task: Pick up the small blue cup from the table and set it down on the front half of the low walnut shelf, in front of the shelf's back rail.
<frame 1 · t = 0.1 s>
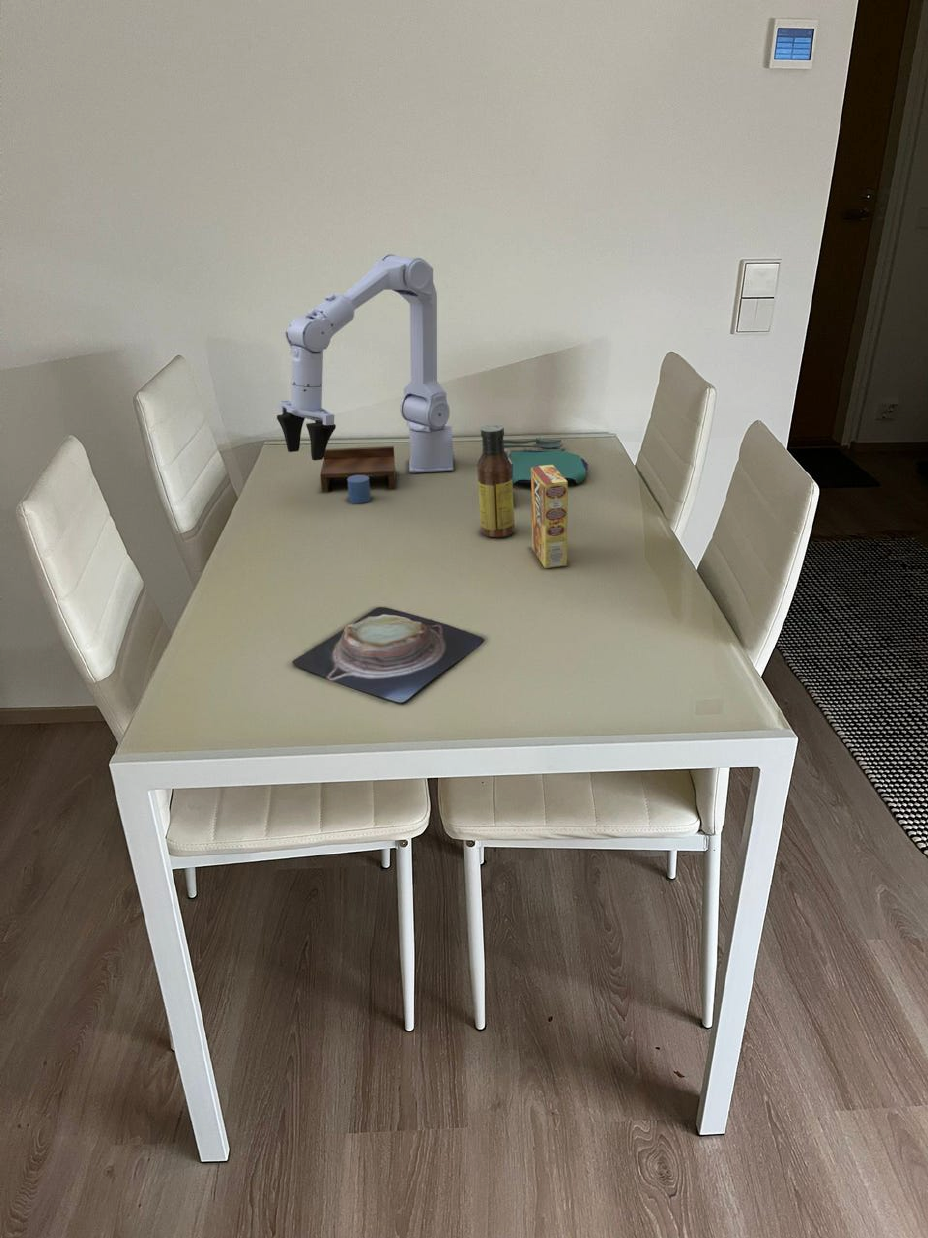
hand: (305, 455, 186), 10 cm above the table, tool pointing down, fingers open, 7 cm apart
flask: (505, 500, 191), on the table
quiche: (390, 653, 140), on the table
blue cup: (360, 499, 194), on the table
candy box: (548, 558, 167), on the table
shelf: (359, 482, 203), on the table
sauce bottle: (496, 533, 177), on the table
cutlery set: (538, 467, 208), on the table
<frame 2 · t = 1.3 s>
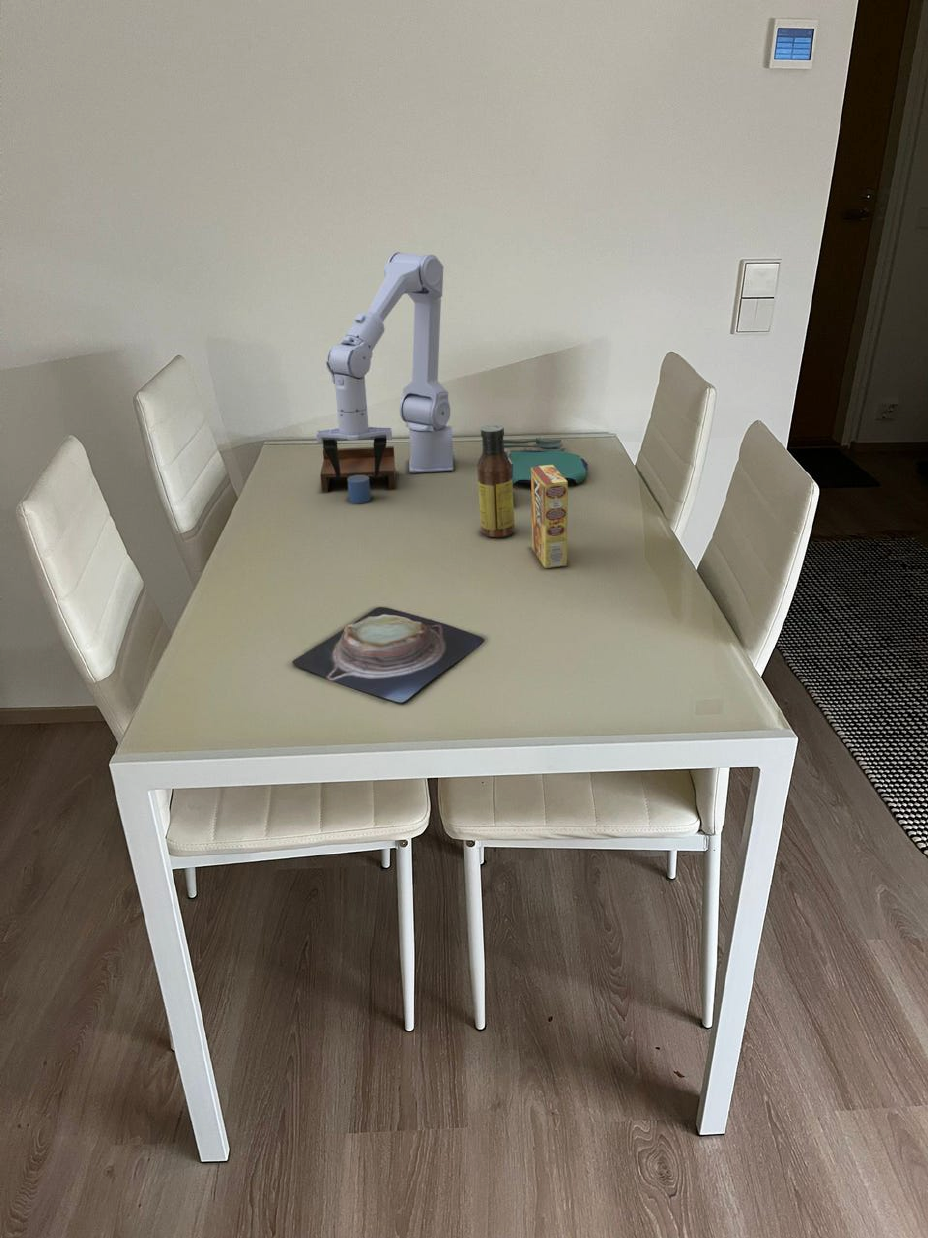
hand: (357, 475, 191), 5 cm above the table, tool pointing down, fingers open, 7 cm apart
nothing on the table moved.
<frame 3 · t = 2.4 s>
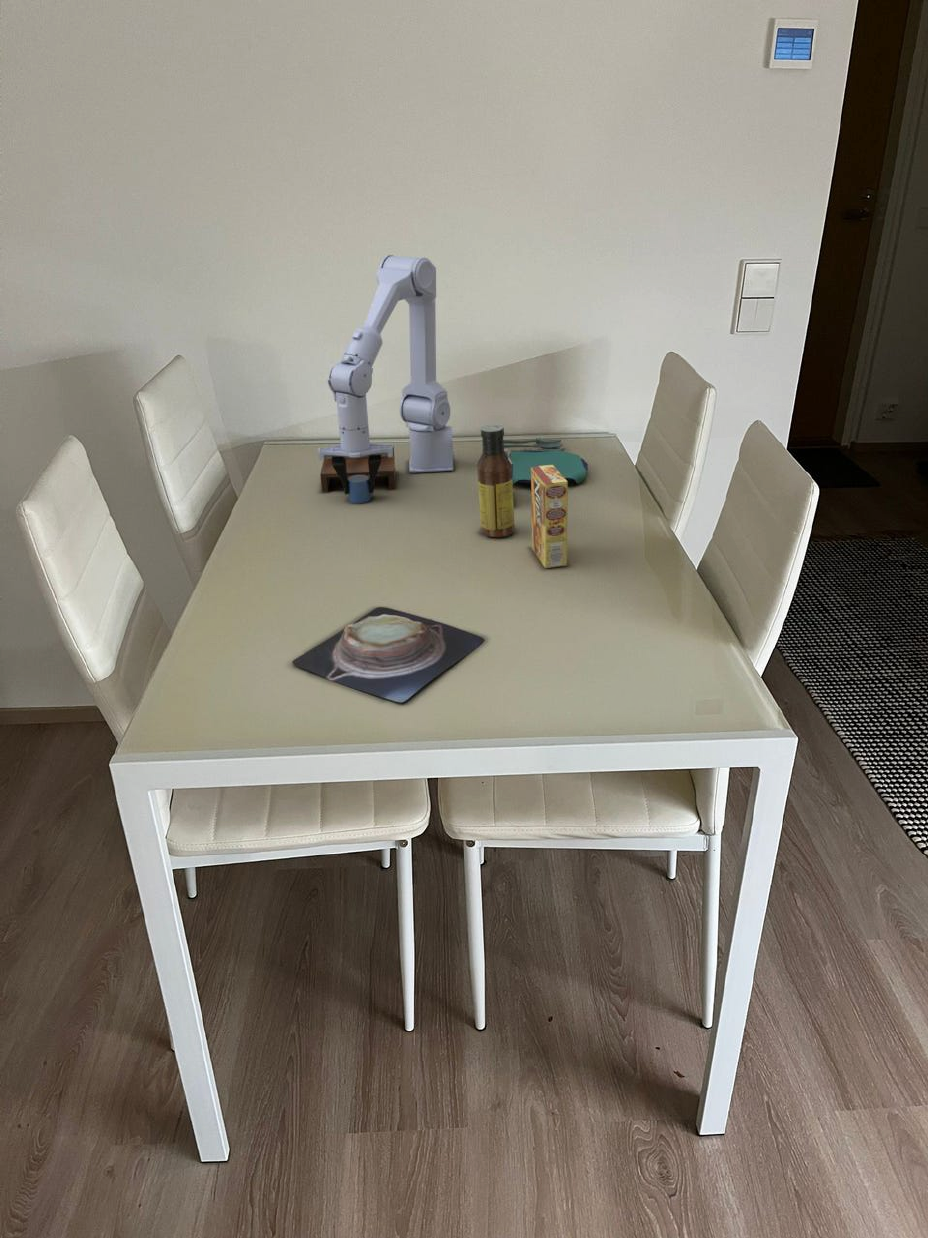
hand: (359, 491, 193), 2 cm above the table, tool pointing down, fingers closed on blue cup, 4 cm apart
blue cup: (360, 499, 194), on the table, touching gripper
everything else where it was.
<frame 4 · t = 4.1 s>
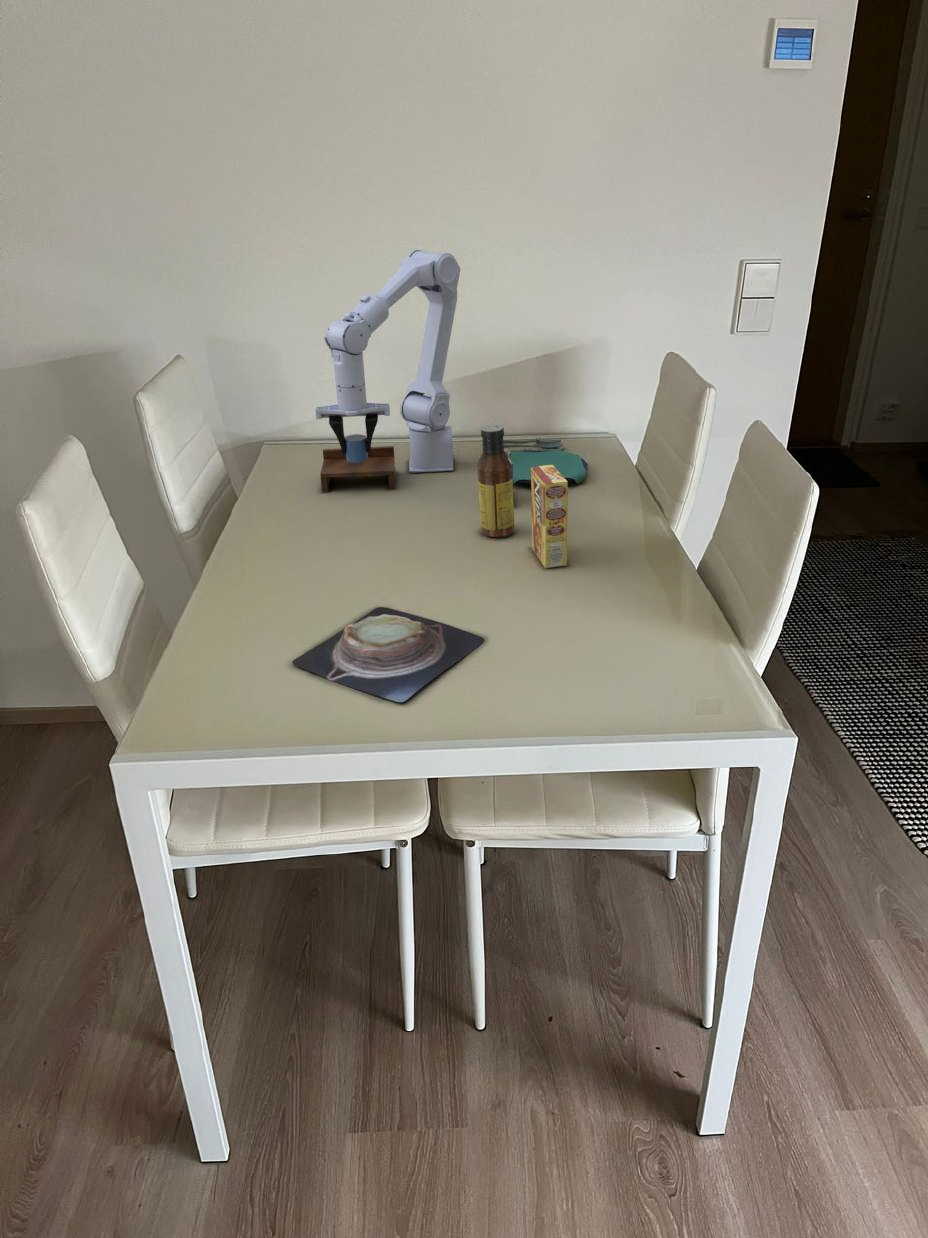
hand: (356, 451, 194), 9 cm above the table, tool pointing down, fingers closed on blue cup, 4 cm apart
blue cup: (357, 459, 195), point 7 cm above the table, touching gripper
everything else where it was.
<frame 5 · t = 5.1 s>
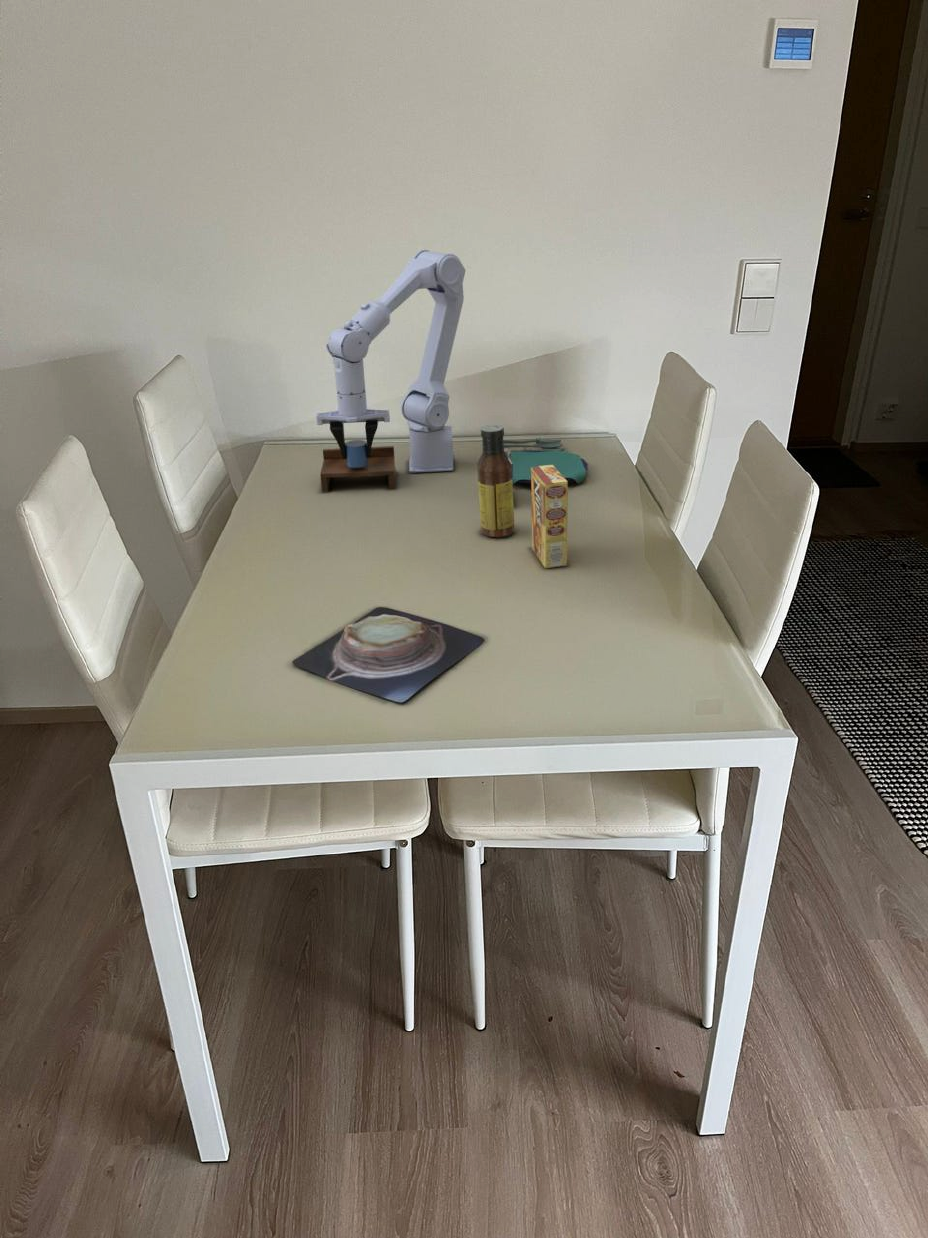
hand: (356, 456, 198), 6 cm above the table, tool pointing down, fingers closed on blue cup, 4 cm apart
blue cup: (357, 464, 198), point 5 cm above the table, touching gripper
everything else where it was.
when the fingers open (6 cm above the table, at t = 5.8 s): blue cup stays where it is, resting on shelf.
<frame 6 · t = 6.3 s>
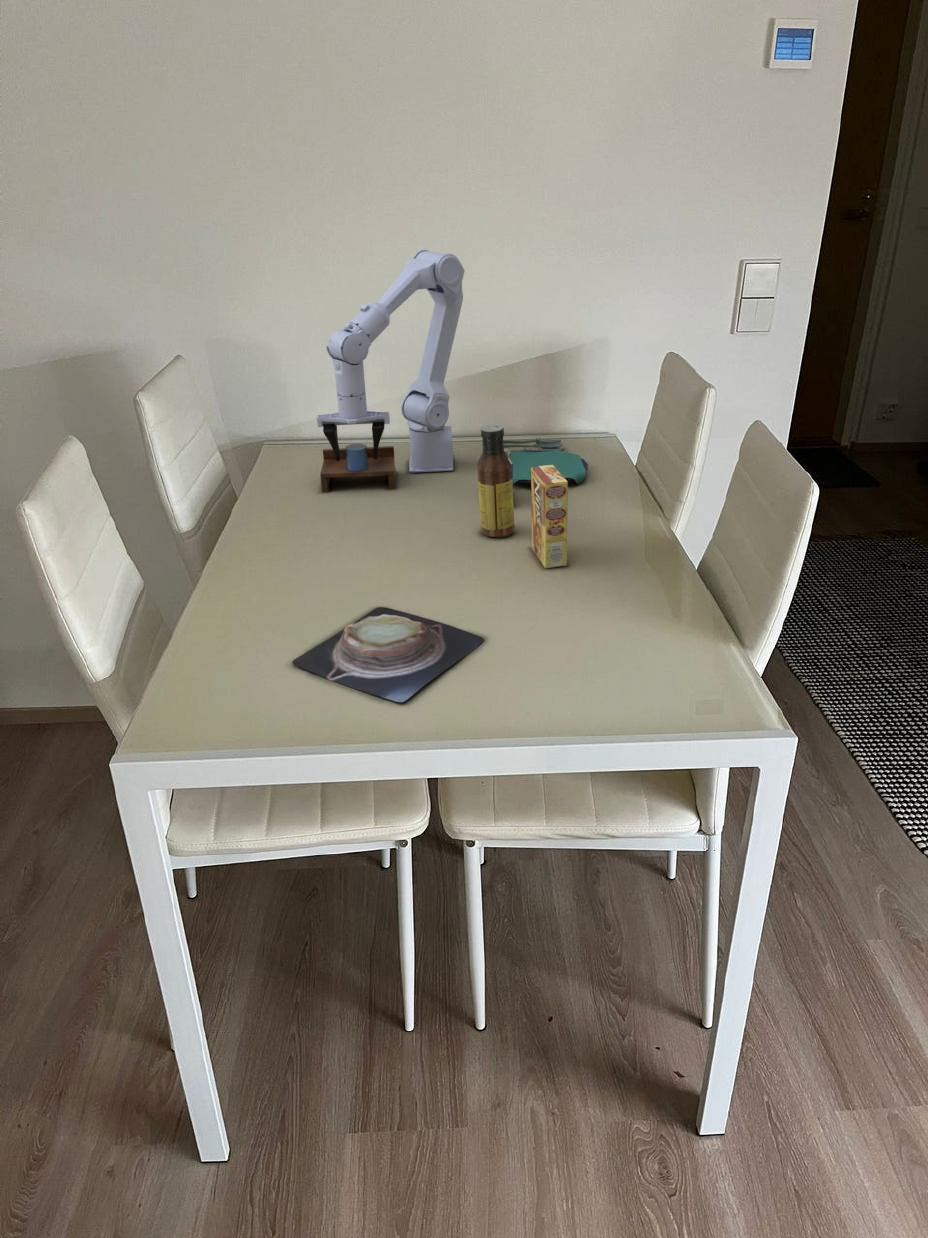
hand: (356, 458, 198), 6 cm above the table, tool pointing down, fingers open, 7 cm apart
blue cup: (357, 467, 199), point 4 cm above the table, touching shelf
everything else where it was.
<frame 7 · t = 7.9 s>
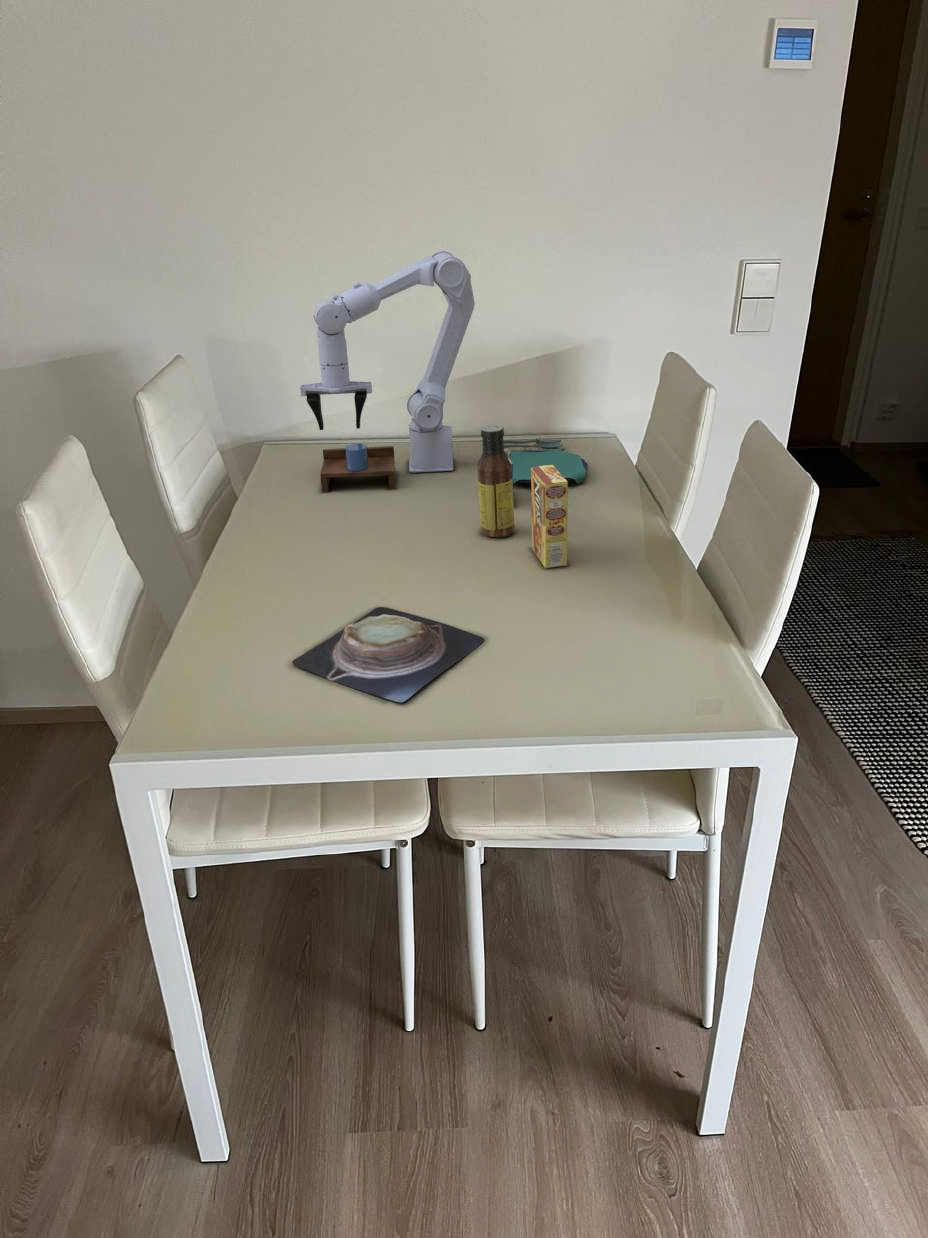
hand: (340, 427, 202), 10 cm above the table, tool pointing down, fingers open, 7 cm apart
nothing on the table moved.
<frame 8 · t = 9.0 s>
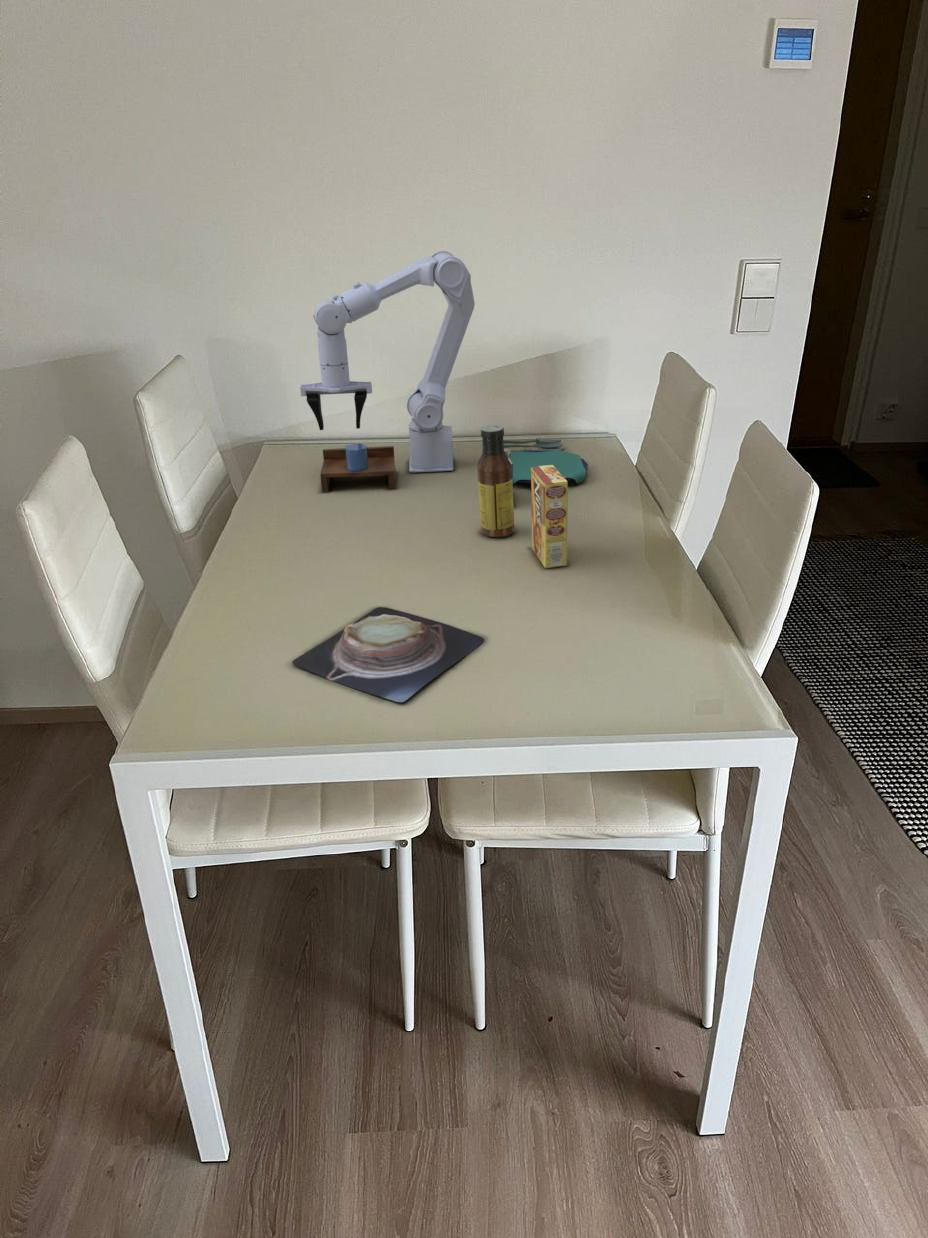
hand: (340, 427, 202), 10 cm above the table, tool pointing down, fingers open, 7 cm apart
nothing on the table moved.
at the end: blue cup inside the target area on the shelf (0.3 cm from its centre), point 4.0 cm above the shelf's base; blue cup tilted 0°; the gripper is holding nothing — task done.
